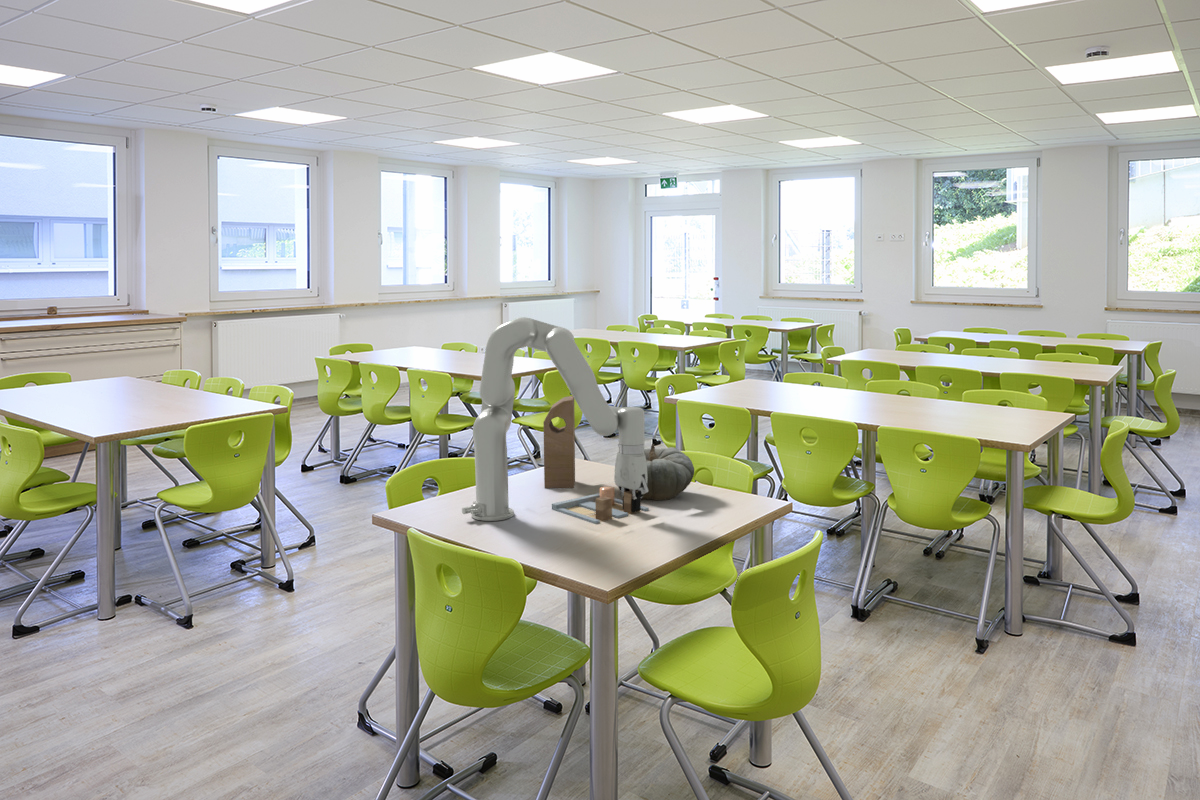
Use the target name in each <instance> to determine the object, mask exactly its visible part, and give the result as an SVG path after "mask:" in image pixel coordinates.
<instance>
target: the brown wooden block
mask: <svg viewBox="0 0 1200 800" xmlns="http://www.w3.org/2000/svg"><path fill="white" fill-rule="evenodd" d="M595 502H596V511H595V512H596V513H593V514H589V515H587V516H588V517H591V518H594V519H598V520H600V523H601V522H605V521H609V520H613V519H614V517H612V498H609V497H600V498H596V501H595Z"/></svg>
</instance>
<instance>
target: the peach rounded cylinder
mask: <svg viewBox="0 0 1200 800" xmlns="http://www.w3.org/2000/svg"><path fill="white" fill-rule="evenodd" d="M599 493H600V497H609V498H612V506H613V505H615V498H616V496H615V495H616V493H615V487H613V486H601V487H599Z"/></svg>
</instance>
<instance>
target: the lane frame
mask: <svg viewBox="0 0 1200 800" xmlns="http://www.w3.org/2000/svg"><path fill="white" fill-rule="evenodd" d="M596 498H600V492H597V493H592V494H589V495H585V496H581V497H580V496H579V497H575V498H572V499H567V500H562V501H559V502H555V503H551V510H552V511H554V512H558V513H562V514H565V515H567V516H570V517H573V518H577V519H579V520H582V521H586V522H588V523H591V524H595V525H596V524H600V523H601V522H600V520H598V519H594V518H591V517H588V516H589V515H593V514H596V503H594V502H596ZM615 503H617V504H620V505H623V499H620V498H617V497H615ZM649 509H650V508H649V507H647V506H643V505H641V510H640V511H641V512H646V511H649ZM628 516H629V515H628V513H626V512H623V511H620V510H617V509H613V508H612V518H613V519H620V518H624V517H628Z"/></svg>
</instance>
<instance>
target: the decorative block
mask: <svg viewBox="0 0 1200 800" xmlns="http://www.w3.org/2000/svg"><path fill="white" fill-rule="evenodd" d="M556 418H559V419H562V420H563V421H564V424H565V426H561V427H557V426H555V425H554V424H553V421H552V420H553V419H556ZM575 422H576V421H575V398H574V397H573V395H570V396H564V397H562V398H560V399H559V400H558V401H556V402H555V403H553V404H552V405H551V407H550V409H549V411H548V413H547V414H546V416H545V418H544V420H543V422H542V423H543V469H544V470H543V477H544V478H543V479H544V480H543V481H544V486H543V487H544V489H574V488H575V484H576V444H575V443H576V442H575V441H576V436H575V435H576V434H575V429H576V427H575V425H576V424H575Z"/></svg>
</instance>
